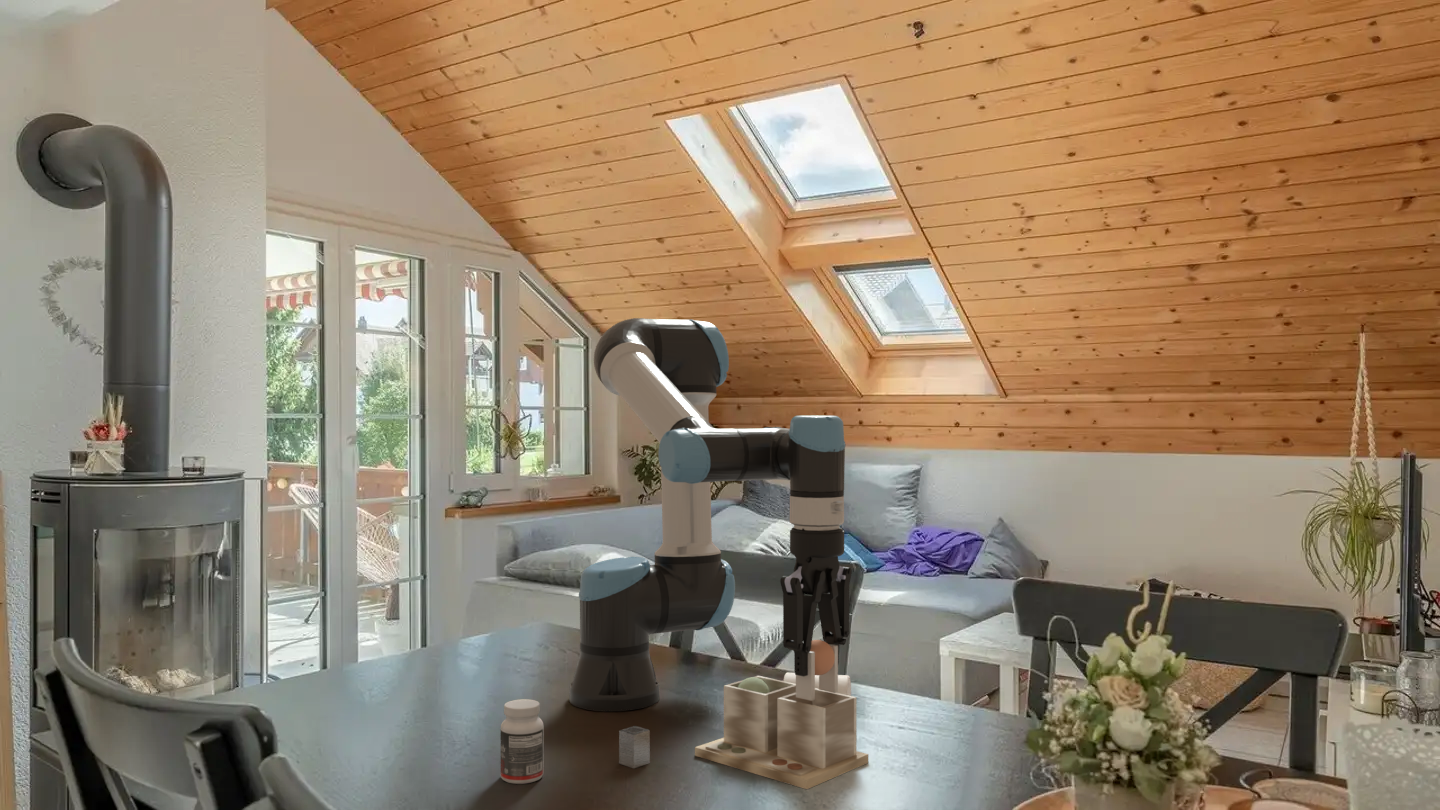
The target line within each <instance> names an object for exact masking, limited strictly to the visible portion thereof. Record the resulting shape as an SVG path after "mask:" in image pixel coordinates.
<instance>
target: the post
mask: <svg viewBox="0 0 1440 810" xmlns="http://www.w3.org/2000/svg"><path fill="white" fill-rule="evenodd" d="M618 732H619V733H618V736H619V737H618V738H619V739H618V764H620V765H623V766H626V767H629V768H630V769H631V768H632V769H637V768H640V767H642V766H645V765H648V764H650V763H651V761H650V760H651V758H650V755H651V751H650V749H651V746H650V744H651V743H650V741H651V738H650V737H651V736H650V735H651V732H650V729H648V728H644V727H641V726H637V725H633V726H630V727H627V728H623V729H620V730H618Z"/></svg>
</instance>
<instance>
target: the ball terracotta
mask: <svg viewBox="0 0 1440 810" xmlns="http://www.w3.org/2000/svg"><path fill="white" fill-rule="evenodd" d="M810 651H812V652H815V675H823V674H825V673H827V672H828V671H829V670H830V669H831V668H832V667H833V664H834V661H835V655H834V651H833V649H832V648H831V646H830V645H829V644H828V643H826V642H824V641H823V639H822V640H821V639H812V644H811V650H810Z"/></svg>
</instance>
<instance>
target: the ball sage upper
mask: <svg viewBox="0 0 1440 810" xmlns="http://www.w3.org/2000/svg"><path fill="white" fill-rule="evenodd" d="M742 680H743V681H742ZM742 680H741V681H742V682H741V683H740V684H739V686H738V688H742V689H746V690H750V691H755V692H759V693H763V694H766V693H769V688H768V686H767V685H766V683H765V682H764V681H763V680H761V679H759V678H756V677H755V676H752V677H747V678H745V679H742Z"/></svg>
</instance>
